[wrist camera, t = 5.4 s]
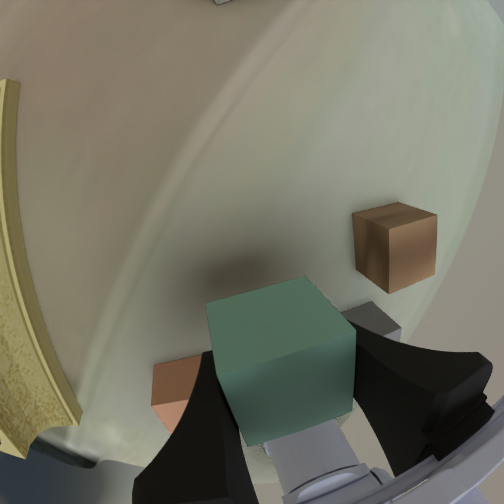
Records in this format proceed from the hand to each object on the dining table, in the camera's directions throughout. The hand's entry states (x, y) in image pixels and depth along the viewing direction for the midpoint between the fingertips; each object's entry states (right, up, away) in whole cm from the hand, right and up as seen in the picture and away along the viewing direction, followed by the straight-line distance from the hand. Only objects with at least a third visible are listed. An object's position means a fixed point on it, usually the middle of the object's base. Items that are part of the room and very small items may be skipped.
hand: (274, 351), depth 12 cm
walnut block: (+9, +5, +9) cm, 14 cm away
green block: (0, 0, +2) cm, 2 cm away
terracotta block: (-6, -6, +10) cm, 13 cm away
